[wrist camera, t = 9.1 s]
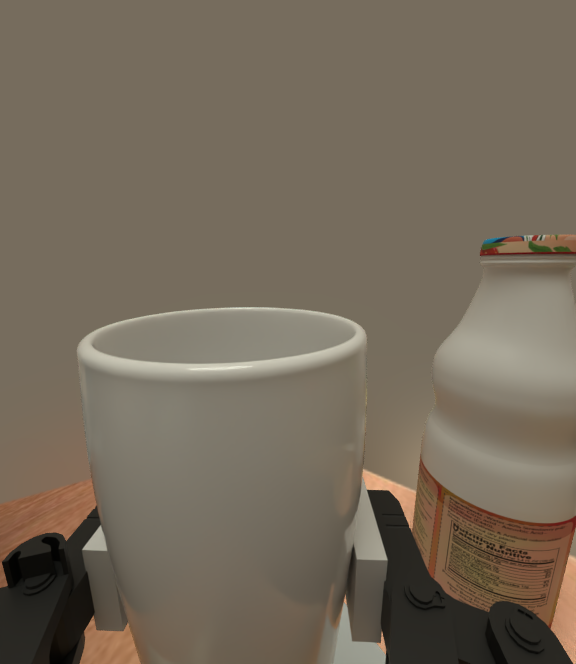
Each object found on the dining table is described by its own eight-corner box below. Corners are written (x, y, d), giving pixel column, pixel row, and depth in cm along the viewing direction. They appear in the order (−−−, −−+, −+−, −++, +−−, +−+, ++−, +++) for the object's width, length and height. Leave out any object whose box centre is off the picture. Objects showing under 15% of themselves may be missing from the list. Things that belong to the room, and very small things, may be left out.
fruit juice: (385, 560, 28) (412, 241, 21) (468, 536, 30) (514, 244, 24) (471, 700, 19) (559, 225, 13) (579, 650, 21) (698, 231, 15)
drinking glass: (344, 637, 14) (360, 308, 10) (348, 981, 7) (397, 383, 4) (203, 610, 15) (178, 304, 11) (94, 886, 8) (-37, 358, 5)
